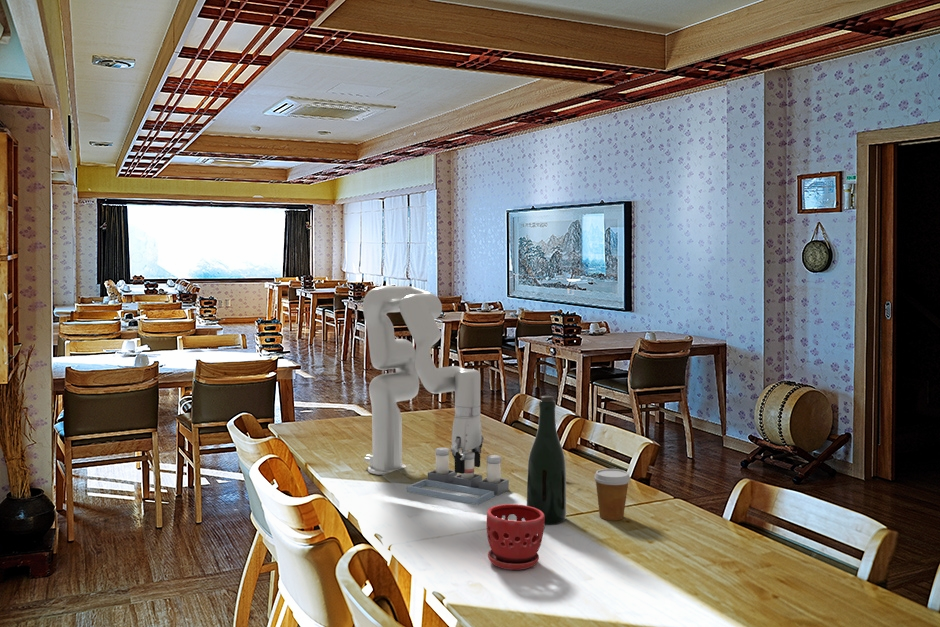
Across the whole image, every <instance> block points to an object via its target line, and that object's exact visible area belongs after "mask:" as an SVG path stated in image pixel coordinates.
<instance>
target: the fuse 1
mask: <svg viewBox="0 0 940 627" xmlns="http://www.w3.org/2000/svg"><path fill="white" fill-rule="evenodd" d="M434 455H435V470H436V474H441V475H446V474H449V470H450V448H449V447H437V448H435V449H434Z"/></svg>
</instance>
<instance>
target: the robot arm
mask: <svg viewBox="0 0 940 627" xmlns="http://www.w3.org/2000/svg"><path fill="white" fill-rule="evenodd" d="M362 301H363V302H362V312H363V317H364V321H365V324H366V330H367V339H368V347H369V357H370V363H371V365H372V367H373V368H374V369H376V370H380V371H385V370H386V371H387V370H395V372H389V373H382V374H379V375H377V376H375V377H373V378H372V380H371V381H370V383H369V386H368V392H369V394H368V395H369V398H370V404H371V406H370V407H371V418H372V419H371V420H372V422H371V423H372V426H371V428H372V429H371V430H372V432H371V433H372V434H371V435H372V436H371V437H372V438H371V439H372V441H371V442H372V444H371V445H372V447H371V448H372V454H366V455H365V457H364V459H363V460H364V462H367V463H369V465H368V467H367V471H368V473H369V474H373V475H378V476H379V475H380V476H384V475H387V474H389V473H393V472H396V471H398V470H401V469H404V468H405V467H407V465H405V463H403V441H402V440H403V431H402V429H403V427H402V426H403V421H402V417H403V416H402V413H401V410H400V408H399V406H398V404H397V403H398V402H404V401H410V400H412V399H414V398H416V397H417V395H418V394H419V390H420V382H421V384H422V386H423V388H425V390H426V391H428V392H429V393H431V394H434V395H437V394H445V393H450V392H454V418H453V423H452V432H451V446H450V451H451V454H452V457H453V460H454V471H455V472H456V473H457V474H461V473H462V474H463V473H465V460H463V459H464V455H465V452H466V451H471V452H474V453H475V458H474V468H480V467H481V454H482V448H483V442H484V440H485V439H484V436H483V435H482V423H481V421H482V420H481V372H480V371H478V370H477V369H473V368H464V367H461V366H457V365H450V366H442V367H436V365H435V363H434V361H433V358H432V356H431V348H432V346H434V345H435V344H436V343H438V342H439V340H440V339H441V337H442V332H441V330H440V328H439V326H438V323H437V322H436V319H438V318H439V317H440V316H441V314H442V312H443V305H442V302H441V299H439V297H438V296H437V295H435V294H434V293H432V292H429V291H428V290H427V291H426V290H423V289H420V288H418V287H417V288H416V287H415V286H411V285H386V286H378V287H375V288H372V289H370V290H369V291H368V292H367V293H366V295H365V296H364V299H363V300H362ZM388 313H400V314H401V316H402V319H403V321H404V323H405V325H406V326H407V329H408V331H409V333H410V335H411V336H412V340H413V341H414V344H415V346H416V347H414V345H413V344H412V342H410V341H409V340H408V339H405V338H398V339H397V338H396V336H395V329H394V324H393V322H392V321H391V319H390V317H389V316H388V315H387V314H388ZM461 452H462V453H461ZM460 453H461V455H460Z"/></svg>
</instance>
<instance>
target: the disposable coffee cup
mask: <svg viewBox="0 0 940 627" xmlns="http://www.w3.org/2000/svg"><path fill="white" fill-rule="evenodd" d="M593 478H594V480H595V481H594V482H595V487H596V495H597V496H596V497H597V503H598V504H597V506H598V513H599V517H600V518H601V519H603V520H606V521H620V520H623V519H624V516H625V508H626V502H627V501H626V500H627V495H628V488H629V487H628V486H629V482H630V481H631V477H630V475H629V472H628V471H627V470H626V471H625V470H623V469H619V468H617V469H616V468H603V469H598V470H596V471H595V474H594V477H593Z"/></svg>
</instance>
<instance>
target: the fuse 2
mask: <svg viewBox="0 0 940 627" xmlns="http://www.w3.org/2000/svg"><path fill="white" fill-rule="evenodd" d="M501 464H502V456H501V455H497V454H493V455H492V454H491V455H487V456H486V478H487V482H488V483H494V484H498V483H500V482H501V478H502V477H501V476H502V474H501V473H502V472H501V471H502V470H501Z"/></svg>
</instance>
